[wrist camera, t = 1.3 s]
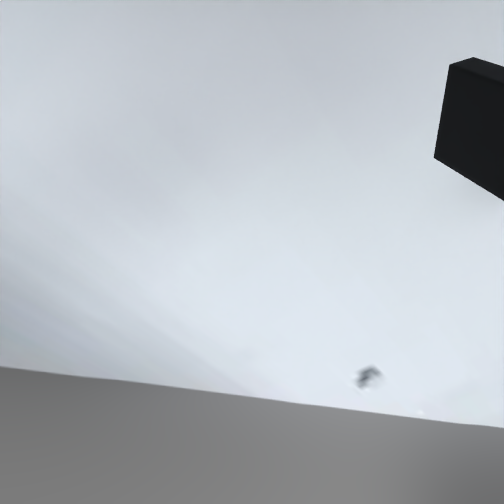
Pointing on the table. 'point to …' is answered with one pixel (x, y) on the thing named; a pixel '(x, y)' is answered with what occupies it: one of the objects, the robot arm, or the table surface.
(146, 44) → the table surface
